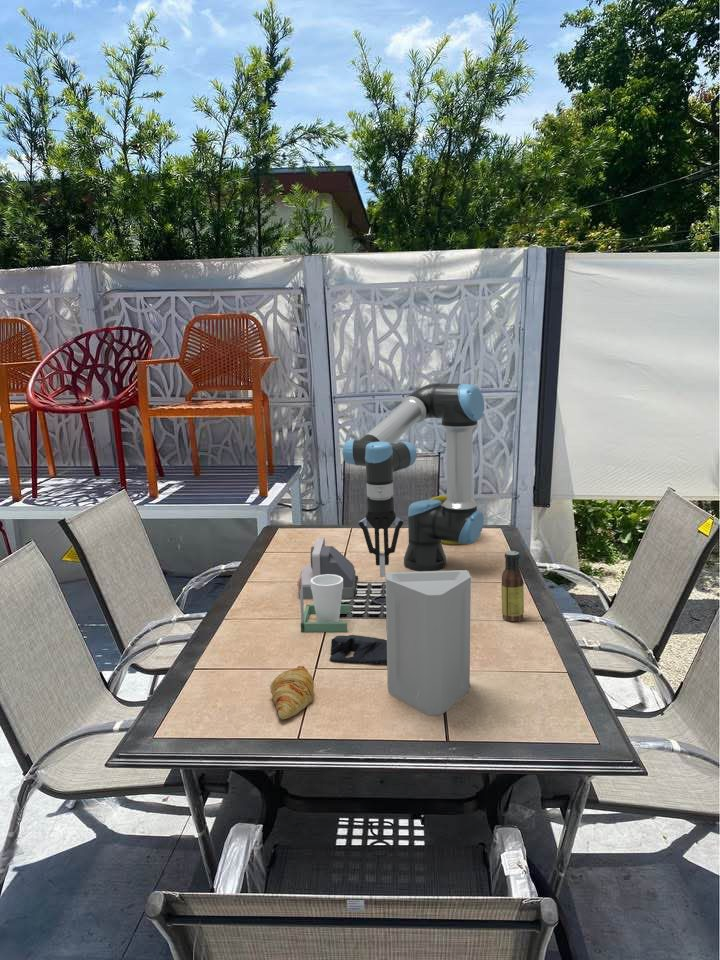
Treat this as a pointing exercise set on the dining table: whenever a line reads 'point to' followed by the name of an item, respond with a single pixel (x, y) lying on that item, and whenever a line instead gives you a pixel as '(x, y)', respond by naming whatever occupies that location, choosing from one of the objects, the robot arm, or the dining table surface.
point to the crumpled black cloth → (359, 649)
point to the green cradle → (319, 626)
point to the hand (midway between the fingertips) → (382, 575)
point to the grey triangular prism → (428, 638)
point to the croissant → (292, 691)
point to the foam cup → (327, 597)
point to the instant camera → (328, 569)
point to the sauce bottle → (512, 589)
